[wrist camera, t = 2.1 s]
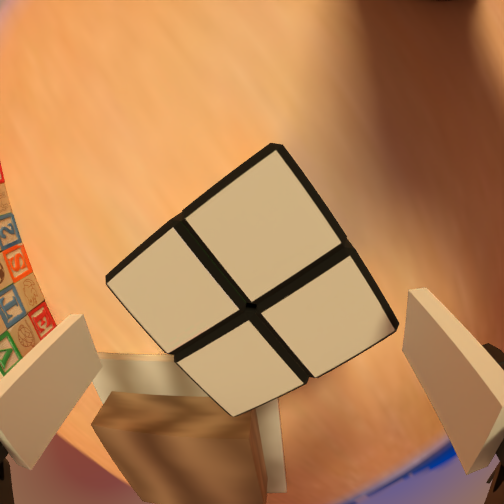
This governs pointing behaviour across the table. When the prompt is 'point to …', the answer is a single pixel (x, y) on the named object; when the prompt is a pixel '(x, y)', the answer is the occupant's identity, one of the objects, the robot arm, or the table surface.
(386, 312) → the puzzle cube
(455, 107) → the table surface
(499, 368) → the robot arm
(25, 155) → the table surface
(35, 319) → the stack of blocks
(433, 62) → the table surface
